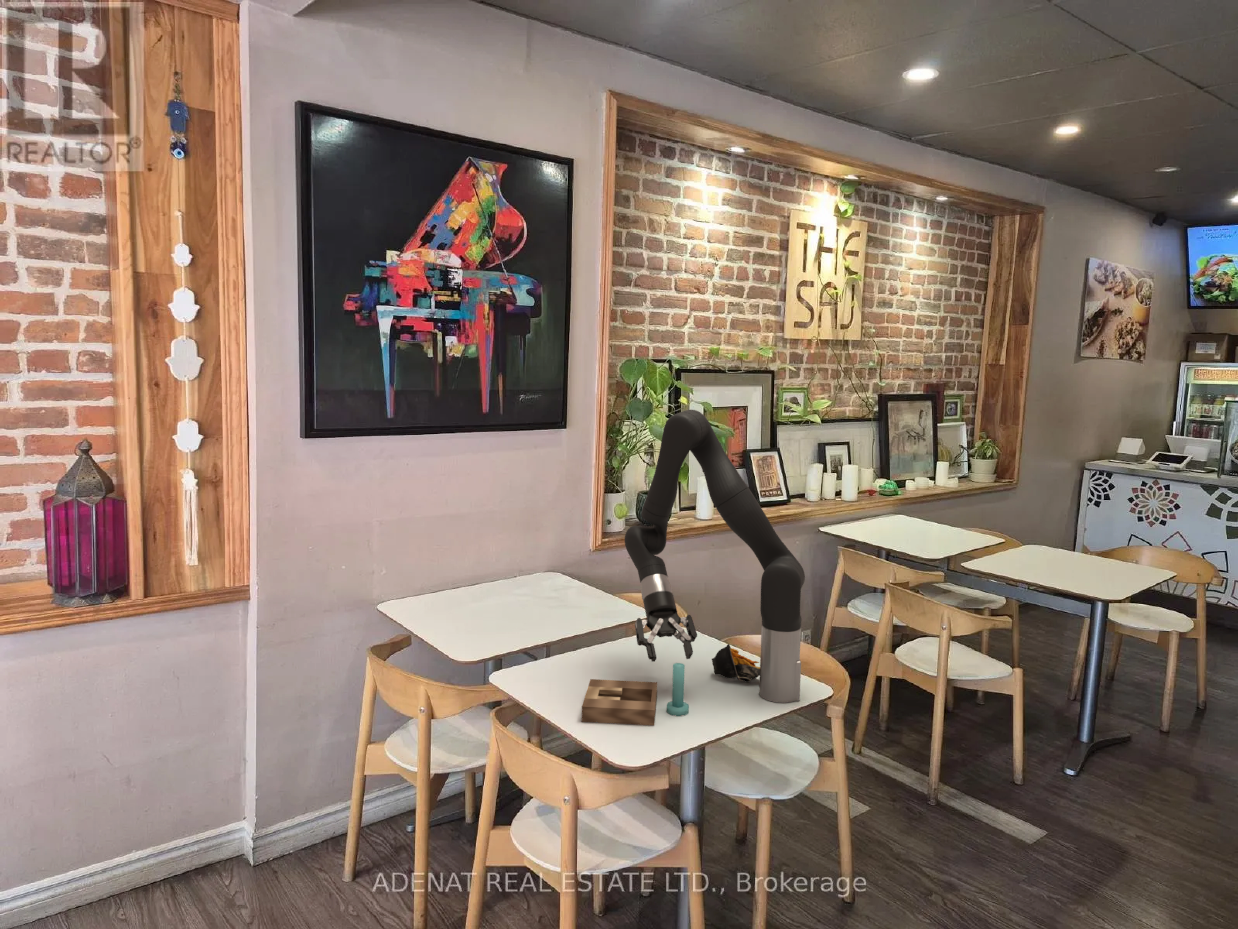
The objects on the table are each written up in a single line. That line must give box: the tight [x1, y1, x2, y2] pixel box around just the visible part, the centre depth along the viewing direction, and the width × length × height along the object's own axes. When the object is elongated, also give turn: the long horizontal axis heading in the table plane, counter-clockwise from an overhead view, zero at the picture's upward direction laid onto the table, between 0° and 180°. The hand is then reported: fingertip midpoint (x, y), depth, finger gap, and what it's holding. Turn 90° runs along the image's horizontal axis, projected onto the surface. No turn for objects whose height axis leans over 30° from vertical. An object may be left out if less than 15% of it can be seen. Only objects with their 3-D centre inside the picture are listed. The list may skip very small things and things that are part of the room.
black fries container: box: [711, 643, 760, 683], centre depth 207 cm, size 9×11×18 cm
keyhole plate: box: [581, 678, 658, 726], centre depth 188 cm, size 16×16×4 cm
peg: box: [666, 662, 690, 717], centre depth 186 cm, size 5×5×11 cm
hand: (671, 659), depth 190 cm, fingers open, 8 cm apart
